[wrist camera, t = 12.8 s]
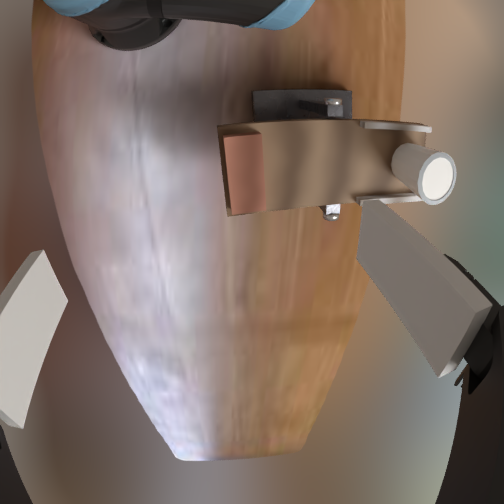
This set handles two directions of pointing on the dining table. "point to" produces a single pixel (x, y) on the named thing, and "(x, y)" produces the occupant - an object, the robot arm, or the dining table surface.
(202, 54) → the dining table surface
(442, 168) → the shot glass
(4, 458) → the robot arm
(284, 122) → the beam
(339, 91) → the stand
